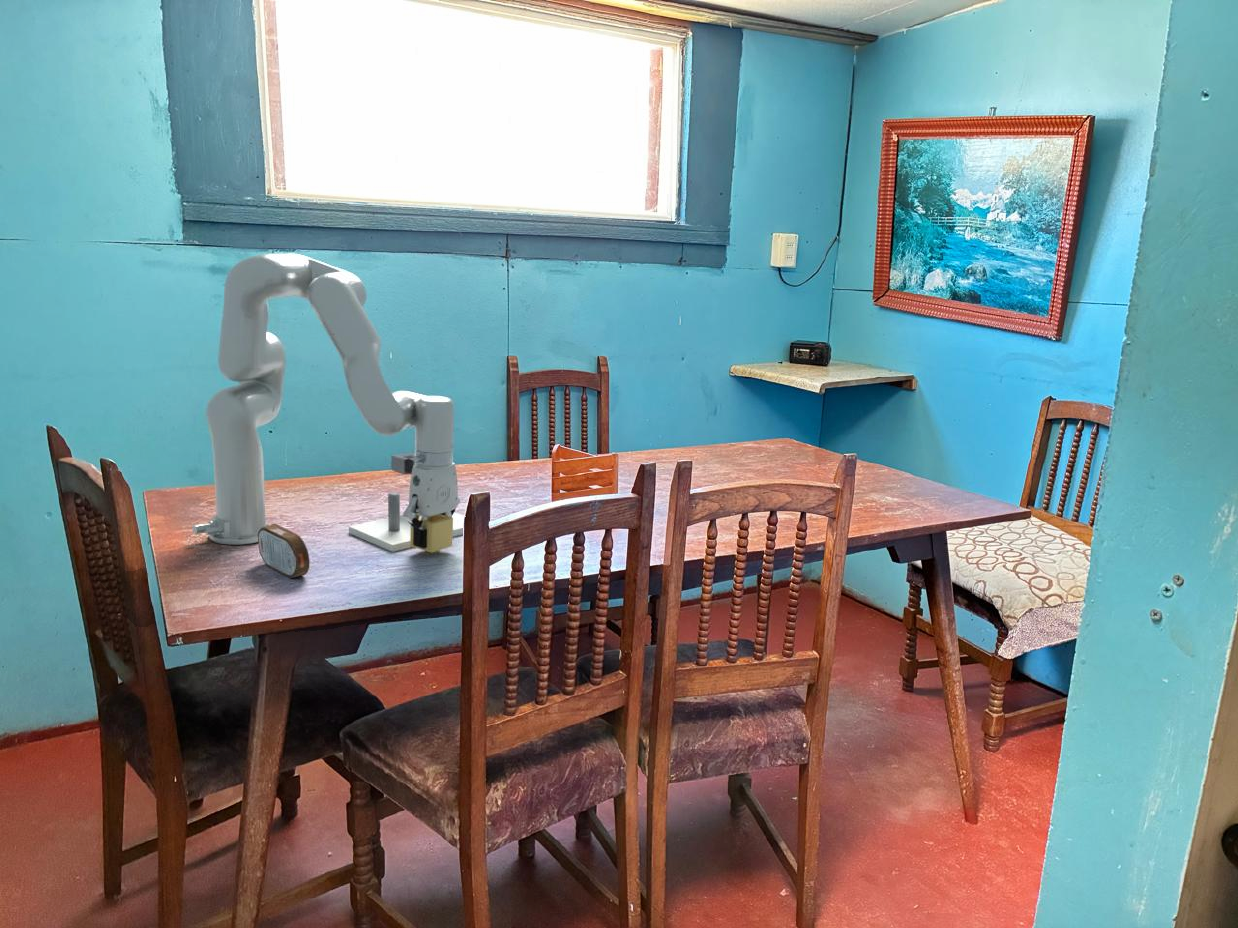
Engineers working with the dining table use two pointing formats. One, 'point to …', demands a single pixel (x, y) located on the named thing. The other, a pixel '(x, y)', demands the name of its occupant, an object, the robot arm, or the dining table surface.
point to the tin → (283, 551)
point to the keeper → (402, 463)
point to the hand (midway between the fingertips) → (431, 541)
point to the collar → (437, 533)
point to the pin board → (394, 537)
